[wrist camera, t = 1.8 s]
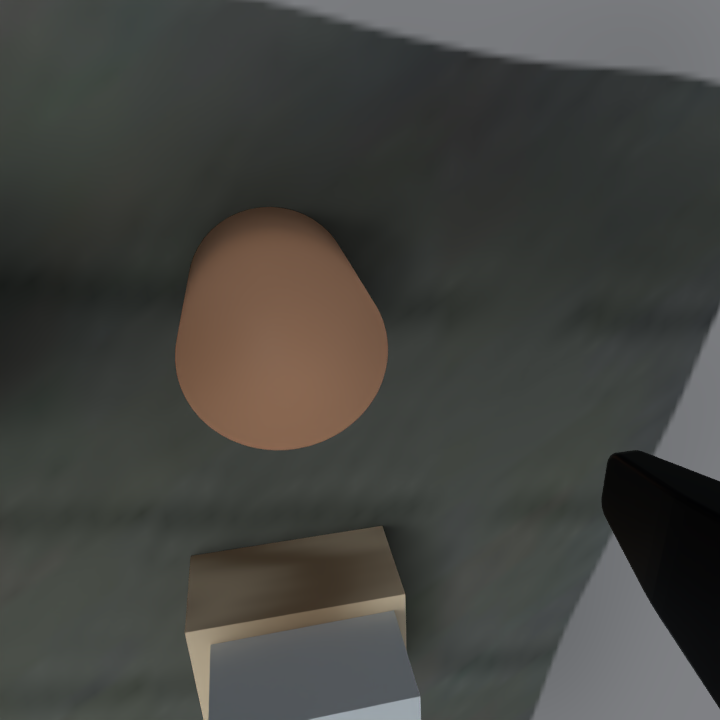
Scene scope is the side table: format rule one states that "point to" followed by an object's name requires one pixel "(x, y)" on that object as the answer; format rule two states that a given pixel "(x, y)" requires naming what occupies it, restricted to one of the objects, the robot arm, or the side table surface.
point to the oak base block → (287, 590)
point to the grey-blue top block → (316, 674)
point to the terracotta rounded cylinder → (277, 333)
